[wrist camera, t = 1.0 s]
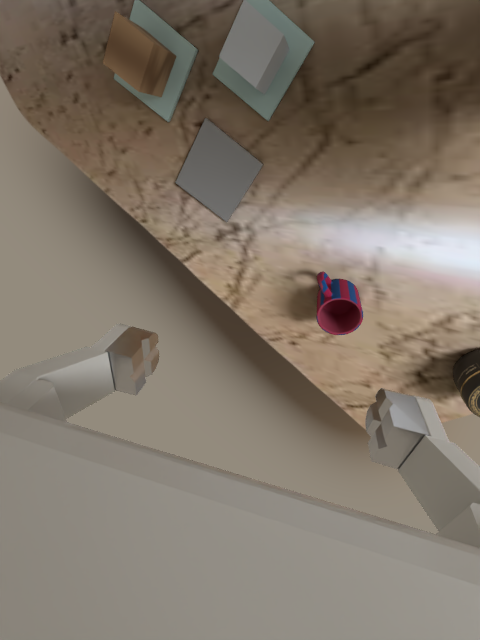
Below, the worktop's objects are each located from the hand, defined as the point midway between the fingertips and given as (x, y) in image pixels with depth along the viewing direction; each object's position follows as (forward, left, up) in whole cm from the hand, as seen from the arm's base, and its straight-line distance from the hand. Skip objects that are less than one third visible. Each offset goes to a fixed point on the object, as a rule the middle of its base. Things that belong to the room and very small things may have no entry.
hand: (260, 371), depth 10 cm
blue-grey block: (-9, -15, -38) cm, 42 cm away
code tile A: (-1, -27, -39) cm, 47 cm away
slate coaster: (+5, -13, -39) cm, 41 cm away
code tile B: (-9, -15, -39) cm, 42 cm away
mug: (+8, +13, -39) cm, 42 cm away
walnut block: (-1, -27, -38) cm, 47 cm away
